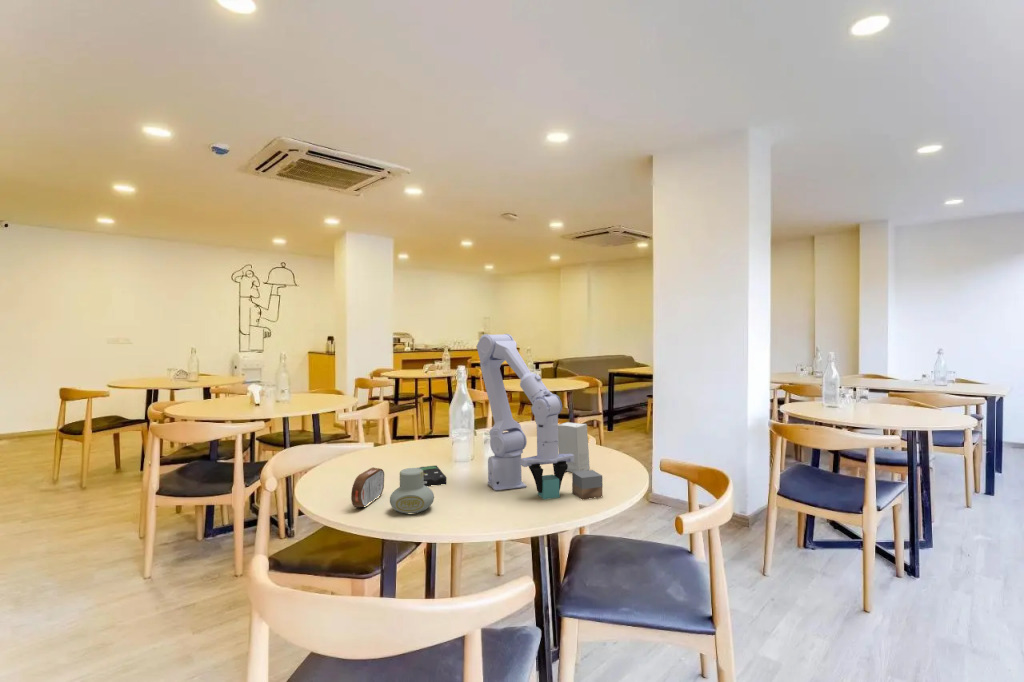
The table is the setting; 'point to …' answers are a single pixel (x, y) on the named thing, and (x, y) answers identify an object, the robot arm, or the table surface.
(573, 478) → the tower top
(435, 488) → the table surface
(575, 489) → the tower bottom
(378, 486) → the tin
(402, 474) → the air freshener
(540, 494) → the teal block
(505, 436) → the robot arm
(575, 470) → the skincare box
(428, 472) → the disk drive
